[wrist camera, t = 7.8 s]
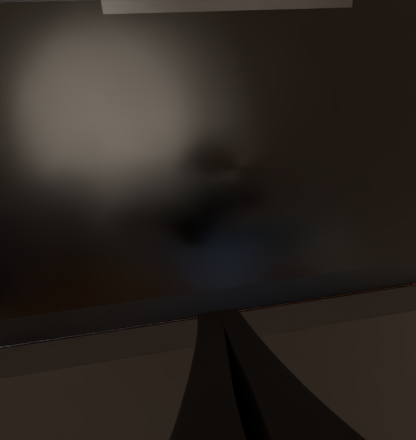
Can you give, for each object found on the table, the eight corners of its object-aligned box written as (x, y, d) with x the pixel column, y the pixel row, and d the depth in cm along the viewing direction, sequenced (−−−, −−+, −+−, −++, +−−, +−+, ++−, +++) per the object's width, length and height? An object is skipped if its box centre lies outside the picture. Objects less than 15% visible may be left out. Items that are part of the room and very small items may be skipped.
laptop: (-292, -244, 7) (-442, -365, 6) (571, -189, 10) (654, -256, 9) (-21, 328, 14) (-48, 355, 13) (446, 260, 17) (477, 275, 16)
